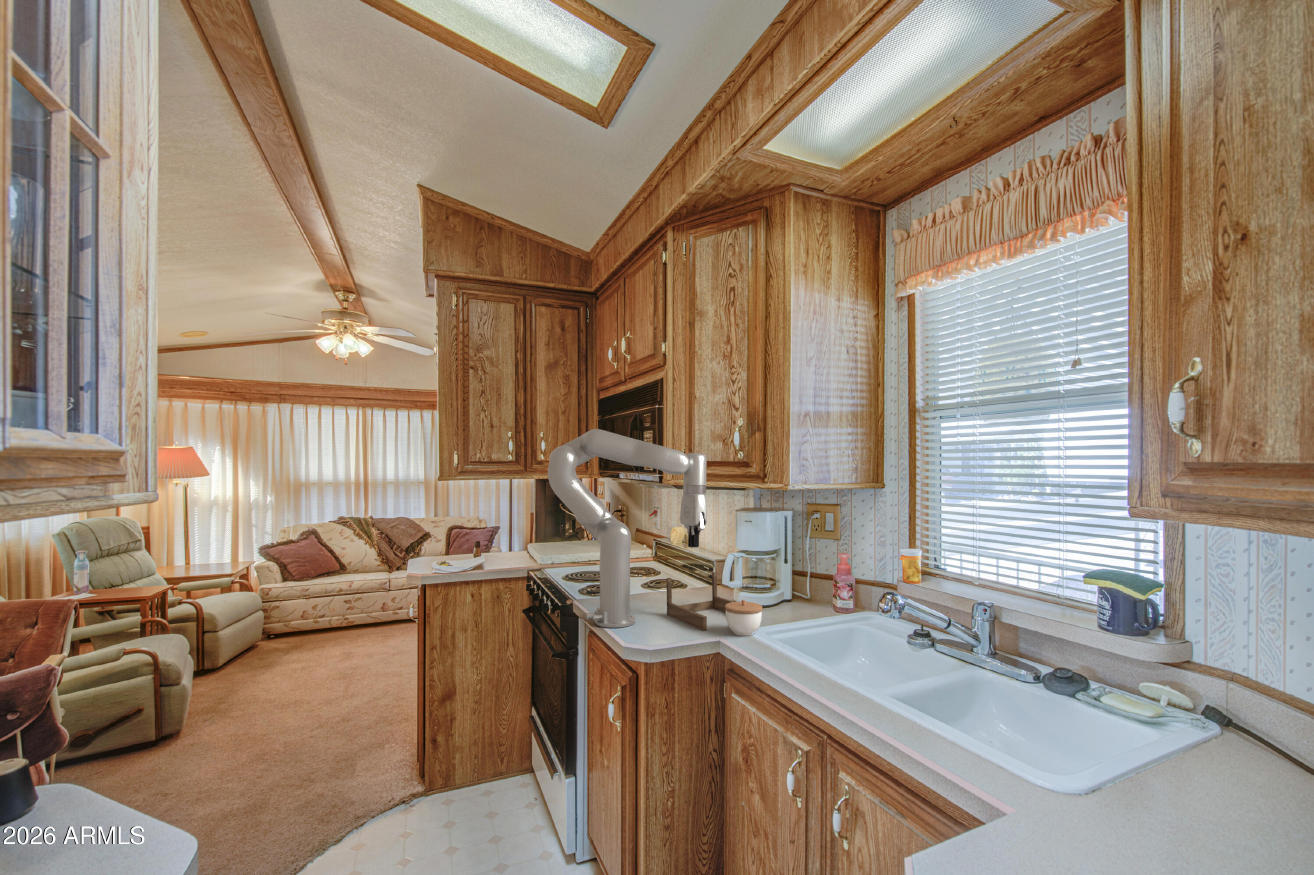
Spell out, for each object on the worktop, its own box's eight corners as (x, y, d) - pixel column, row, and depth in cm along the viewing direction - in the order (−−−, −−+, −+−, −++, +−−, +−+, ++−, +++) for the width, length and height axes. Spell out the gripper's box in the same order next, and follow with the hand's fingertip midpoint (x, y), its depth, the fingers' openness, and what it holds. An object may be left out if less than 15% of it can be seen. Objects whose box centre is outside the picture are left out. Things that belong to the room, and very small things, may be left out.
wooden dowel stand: (703, 631, 164) (702, 589, 165) (666, 615, 182) (666, 578, 183) (755, 621, 173) (754, 582, 174) (715, 607, 192) (714, 572, 193)
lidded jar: (747, 640, 154) (746, 606, 155) (717, 632, 162) (717, 600, 163) (770, 632, 162) (769, 599, 162) (741, 625, 169) (740, 594, 170)
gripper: (673, 489, 188) (672, 544, 186) (696, 491, 174) (695, 550, 173) (692, 490, 191) (691, 543, 190) (716, 491, 178) (715, 549, 177)
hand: (693, 546), depth 182 cm, fingers closed
